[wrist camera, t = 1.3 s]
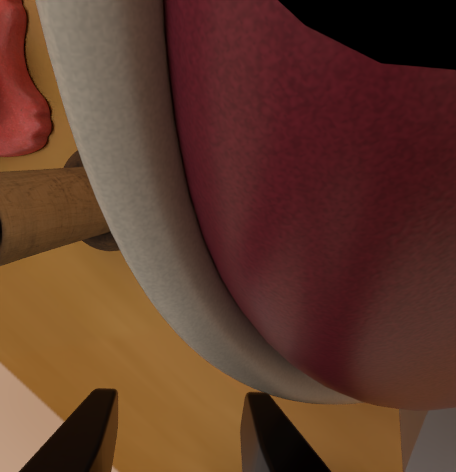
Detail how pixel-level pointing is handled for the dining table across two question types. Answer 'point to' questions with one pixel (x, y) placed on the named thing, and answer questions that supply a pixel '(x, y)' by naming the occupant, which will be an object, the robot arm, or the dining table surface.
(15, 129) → the stacking bear
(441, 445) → the grey matte cube
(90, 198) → the brown turned post
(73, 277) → the dining table surface
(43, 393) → the dining table surface
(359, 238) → the canister
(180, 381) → the dining table surface
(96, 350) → the dining table surface
